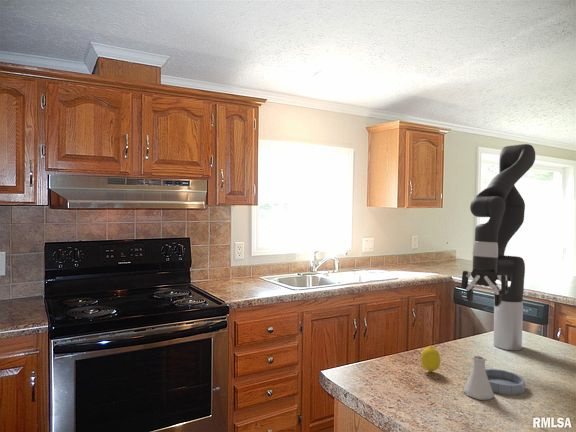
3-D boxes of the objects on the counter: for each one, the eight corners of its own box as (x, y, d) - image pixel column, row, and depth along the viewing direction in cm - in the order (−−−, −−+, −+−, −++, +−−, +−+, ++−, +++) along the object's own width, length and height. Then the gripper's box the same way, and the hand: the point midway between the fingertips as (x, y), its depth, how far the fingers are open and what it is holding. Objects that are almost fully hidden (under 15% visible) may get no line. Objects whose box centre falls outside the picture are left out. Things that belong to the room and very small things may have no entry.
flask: (479, 402, 105) (480, 364, 105) (457, 391, 111) (458, 354, 111) (499, 398, 108) (500, 360, 108) (477, 387, 114) (477, 351, 114)
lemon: (417, 370, 126) (417, 344, 126) (431, 367, 128) (431, 342, 128) (429, 377, 121) (430, 350, 121) (444, 374, 123) (444, 347, 123)
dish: (487, 374, 124) (487, 365, 124) (530, 386, 115) (530, 377, 115) (471, 384, 116) (471, 376, 116) (515, 398, 107) (515, 389, 107)
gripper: (512, 257, 135) (510, 306, 134) (468, 253, 145) (466, 299, 144) (504, 257, 129) (501, 308, 129) (459, 253, 140) (457, 301, 139)
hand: (483, 303), depth 137 cm, fingers open, 8 cm apart
